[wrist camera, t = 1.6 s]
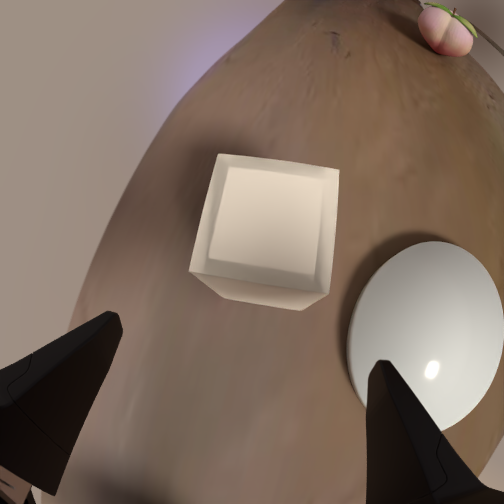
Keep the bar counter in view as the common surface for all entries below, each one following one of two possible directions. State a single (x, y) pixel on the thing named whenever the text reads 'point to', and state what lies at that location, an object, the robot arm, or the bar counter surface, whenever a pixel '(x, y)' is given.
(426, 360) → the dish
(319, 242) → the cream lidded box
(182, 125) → the bar counter surface
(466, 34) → the decorative fruit
